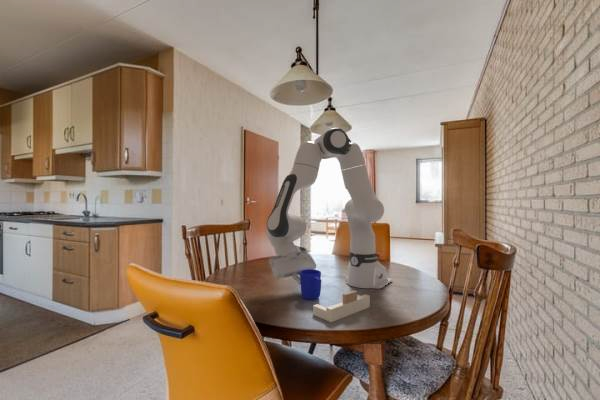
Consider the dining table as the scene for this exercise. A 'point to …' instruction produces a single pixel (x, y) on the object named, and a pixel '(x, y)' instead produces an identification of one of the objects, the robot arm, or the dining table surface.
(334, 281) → the dining table surface
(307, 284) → the mug
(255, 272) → the dining table surface
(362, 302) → the beige blocky open frame
